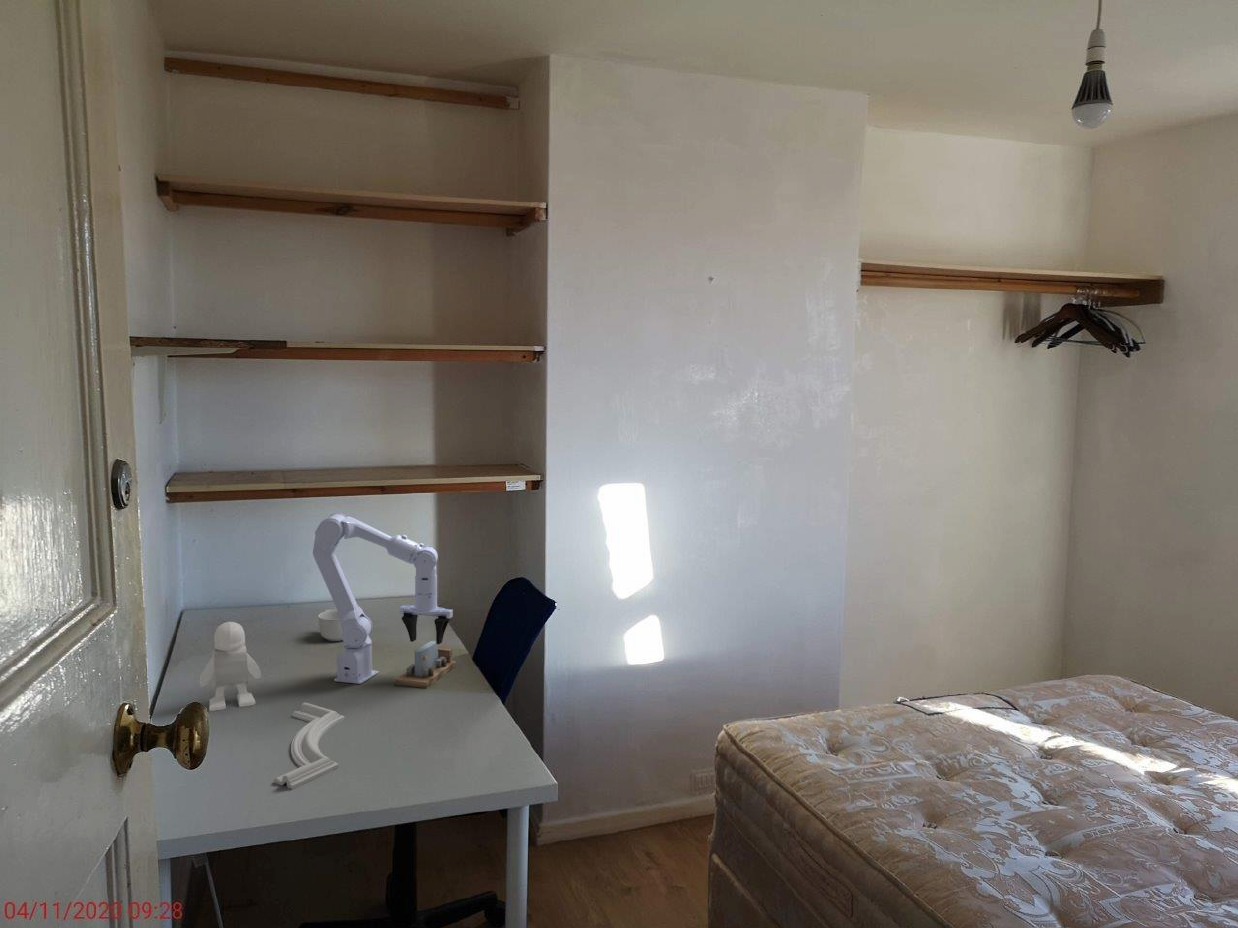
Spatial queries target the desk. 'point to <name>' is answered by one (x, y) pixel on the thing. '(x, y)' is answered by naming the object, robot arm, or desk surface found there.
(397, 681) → the knife switch board
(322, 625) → the teacup
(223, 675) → the toy robot
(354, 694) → the desk surface
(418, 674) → the rectangular block
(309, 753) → the molding
